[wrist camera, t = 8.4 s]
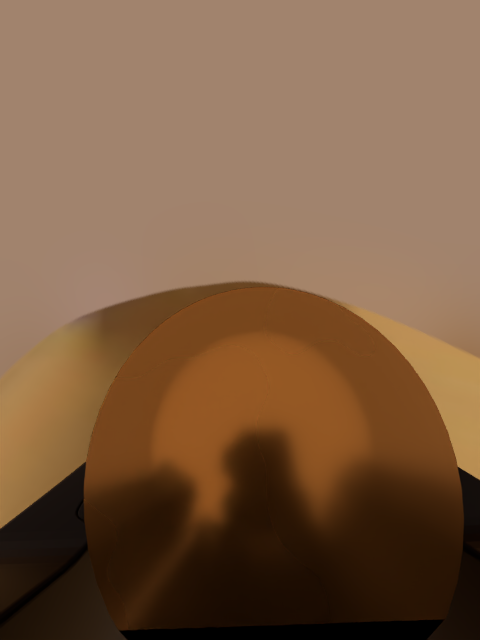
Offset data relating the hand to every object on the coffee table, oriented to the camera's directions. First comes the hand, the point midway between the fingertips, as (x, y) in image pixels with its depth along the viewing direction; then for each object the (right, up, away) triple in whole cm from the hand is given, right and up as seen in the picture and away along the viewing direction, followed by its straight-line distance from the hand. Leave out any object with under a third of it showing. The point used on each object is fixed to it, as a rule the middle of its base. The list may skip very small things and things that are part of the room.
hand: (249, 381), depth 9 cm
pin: (0, -4, +6) cm, 7 cm away
